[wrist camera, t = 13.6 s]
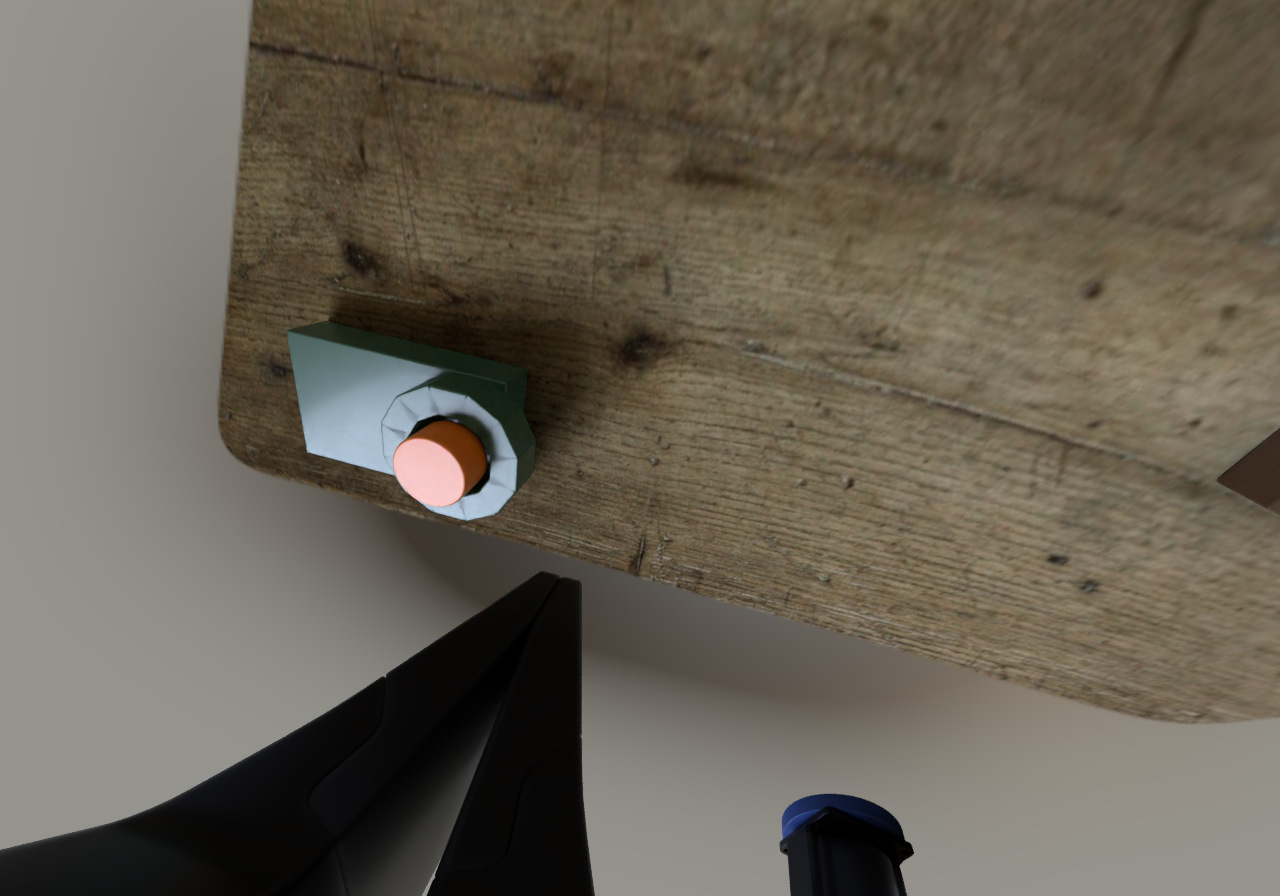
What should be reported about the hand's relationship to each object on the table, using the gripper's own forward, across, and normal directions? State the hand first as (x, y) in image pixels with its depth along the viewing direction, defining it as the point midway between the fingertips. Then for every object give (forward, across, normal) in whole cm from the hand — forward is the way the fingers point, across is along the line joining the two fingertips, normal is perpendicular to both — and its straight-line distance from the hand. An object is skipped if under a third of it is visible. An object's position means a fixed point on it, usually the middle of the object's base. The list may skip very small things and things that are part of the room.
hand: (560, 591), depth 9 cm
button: (+9, +7, +3) cm, 12 cm away
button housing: (+12, +11, +3) cm, 17 cm away
